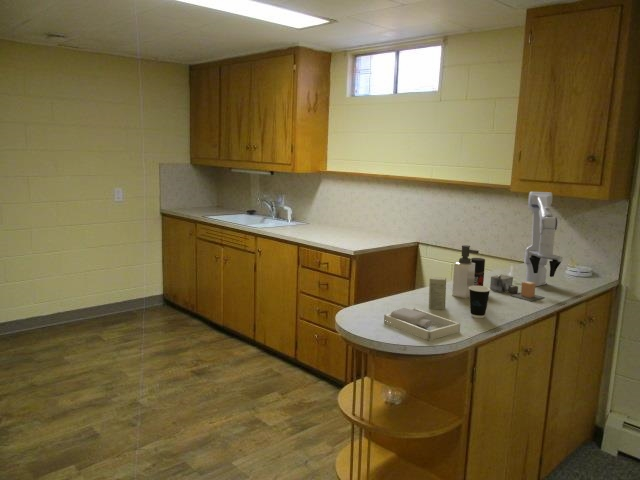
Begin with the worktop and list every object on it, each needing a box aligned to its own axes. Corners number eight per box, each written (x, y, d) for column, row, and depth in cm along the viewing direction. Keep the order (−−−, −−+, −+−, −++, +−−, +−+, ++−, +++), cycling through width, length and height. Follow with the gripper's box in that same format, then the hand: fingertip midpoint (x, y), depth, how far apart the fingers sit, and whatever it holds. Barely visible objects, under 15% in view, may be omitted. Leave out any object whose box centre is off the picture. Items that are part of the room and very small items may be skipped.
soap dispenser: (470, 299, 221) (474, 248, 218) (452, 295, 227) (455, 245, 224) (478, 296, 226) (481, 246, 222) (459, 292, 232) (462, 244, 228)
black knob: (511, 291, 236) (512, 284, 236) (519, 293, 233) (520, 286, 233) (506, 292, 234) (506, 285, 234) (514, 294, 231) (514, 287, 230)
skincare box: (445, 307, 210) (447, 277, 208) (444, 310, 206) (446, 280, 204) (429, 305, 212) (430, 276, 210) (427, 308, 208) (429, 278, 206)
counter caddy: (414, 315, 198) (414, 307, 198) (459, 331, 181) (460, 323, 180) (383, 322, 189) (384, 314, 188) (429, 340, 172) (429, 332, 171)
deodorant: (481, 290, 237) (483, 257, 234) (483, 293, 231) (486, 260, 228) (467, 289, 237) (470, 257, 235) (470, 293, 231) (472, 260, 229)
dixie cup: (471, 319, 195) (473, 291, 193) (463, 313, 202) (465, 285, 201) (491, 319, 195) (494, 290, 194) (483, 312, 203) (485, 285, 201)
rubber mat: (523, 292, 234) (523, 291, 234) (544, 298, 226) (544, 297, 226) (510, 296, 228) (510, 295, 228) (531, 301, 220) (531, 300, 220)
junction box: (500, 286, 244) (501, 272, 243) (513, 289, 238) (514, 275, 237) (488, 289, 239) (489, 275, 238) (501, 292, 233) (502, 278, 232)
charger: (425, 335, 177) (390, 324, 188) (440, 329, 184) (404, 319, 194) (426, 322, 177) (390, 312, 187) (440, 316, 183) (405, 307, 193)
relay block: (526, 294, 230) (527, 280, 228) (534, 296, 226) (535, 282, 225) (520, 295, 227) (521, 282, 226) (529, 297, 224) (530, 284, 223)
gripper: (526, 242, 229) (523, 272, 232) (557, 247, 218) (554, 279, 220) (535, 241, 234) (532, 270, 236) (566, 246, 222) (563, 277, 224)
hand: (543, 274), depth 228 cm, fingers open, 7 cm apart
